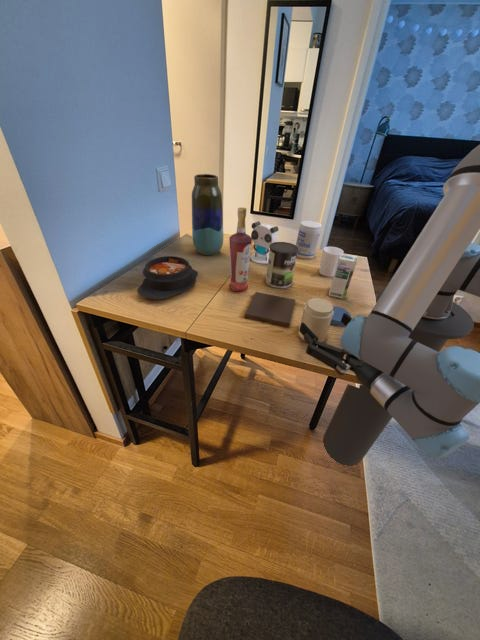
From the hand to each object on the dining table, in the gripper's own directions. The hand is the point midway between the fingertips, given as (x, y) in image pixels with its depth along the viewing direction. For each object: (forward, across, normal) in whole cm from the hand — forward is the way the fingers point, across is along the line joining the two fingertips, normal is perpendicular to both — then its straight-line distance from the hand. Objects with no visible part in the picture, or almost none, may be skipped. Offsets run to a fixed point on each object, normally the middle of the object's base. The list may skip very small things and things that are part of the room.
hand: (322, 321), depth 70 cm
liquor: (+34, -11, -7) cm, 36 cm away
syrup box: (+20, +22, -7) cm, 31 cm away
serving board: (+18, -6, -7) cm, 20 cm away
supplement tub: (+53, +30, -7) cm, 61 cm away
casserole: (+43, -34, -7) cm, 56 cm away
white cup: (+35, +29, -7) cm, 46 cm away
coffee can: (+34, +6, -7) cm, 35 cm away
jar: (+3, 0, -7) cm, 7 cm away
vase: (+69, -13, -7) cm, 70 cm away
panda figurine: (+56, +9, -7) cm, 57 cm away
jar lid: (+7, +12, -5) cm, 15 cm away
